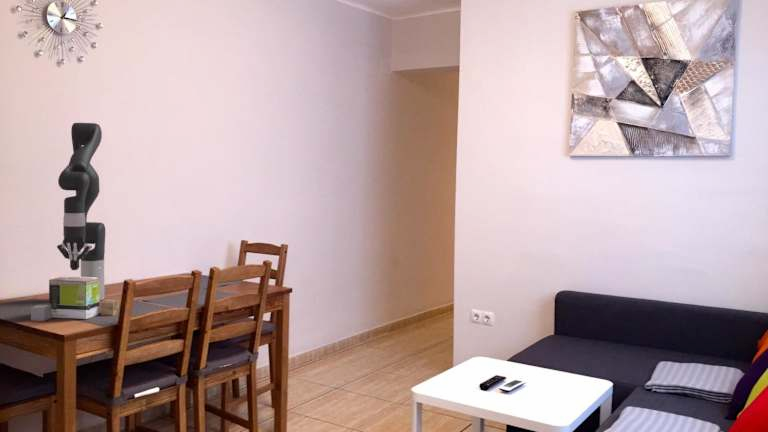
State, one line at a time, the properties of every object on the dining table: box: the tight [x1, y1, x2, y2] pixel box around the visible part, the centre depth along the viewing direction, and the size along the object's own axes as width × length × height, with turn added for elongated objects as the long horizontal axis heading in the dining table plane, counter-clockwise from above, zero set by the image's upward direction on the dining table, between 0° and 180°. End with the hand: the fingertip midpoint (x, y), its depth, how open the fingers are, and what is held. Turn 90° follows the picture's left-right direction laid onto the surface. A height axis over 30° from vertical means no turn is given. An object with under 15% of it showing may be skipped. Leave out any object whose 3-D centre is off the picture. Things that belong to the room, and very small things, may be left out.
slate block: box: [30, 303, 53, 322], centre depth 244 cm, size 5×5×5 cm
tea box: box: [48, 275, 101, 320], centre depth 250 cm, size 15×10×15 cm, turn 84°
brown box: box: [100, 299, 120, 316], centre depth 256 cm, size 5×5×5 cm
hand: (74, 269), depth 249 cm, fingers closed
